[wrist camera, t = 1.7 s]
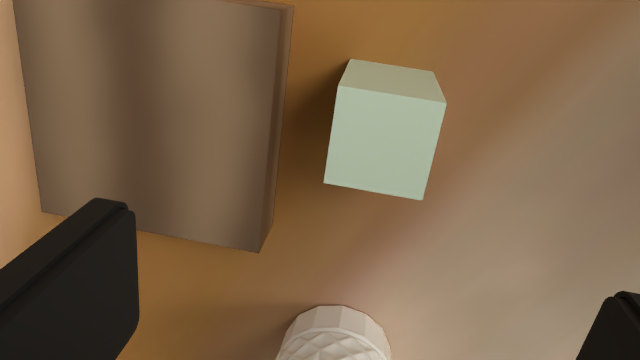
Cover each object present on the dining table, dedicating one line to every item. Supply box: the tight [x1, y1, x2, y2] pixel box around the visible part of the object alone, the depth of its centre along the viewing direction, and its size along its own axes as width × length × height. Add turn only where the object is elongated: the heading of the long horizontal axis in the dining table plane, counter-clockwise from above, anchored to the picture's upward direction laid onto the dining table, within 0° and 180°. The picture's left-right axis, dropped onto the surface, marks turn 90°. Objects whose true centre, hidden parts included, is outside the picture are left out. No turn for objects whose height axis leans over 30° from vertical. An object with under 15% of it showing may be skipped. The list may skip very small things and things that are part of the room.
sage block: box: [324, 59, 447, 200], centre depth 20 cm, size 4×4×6 cm
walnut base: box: [13, 0, 294, 253], centre depth 23 cm, size 12×12×3 cm
